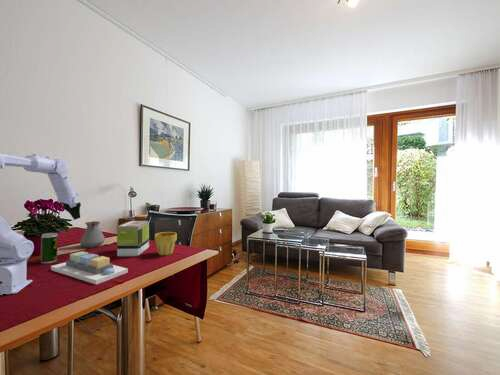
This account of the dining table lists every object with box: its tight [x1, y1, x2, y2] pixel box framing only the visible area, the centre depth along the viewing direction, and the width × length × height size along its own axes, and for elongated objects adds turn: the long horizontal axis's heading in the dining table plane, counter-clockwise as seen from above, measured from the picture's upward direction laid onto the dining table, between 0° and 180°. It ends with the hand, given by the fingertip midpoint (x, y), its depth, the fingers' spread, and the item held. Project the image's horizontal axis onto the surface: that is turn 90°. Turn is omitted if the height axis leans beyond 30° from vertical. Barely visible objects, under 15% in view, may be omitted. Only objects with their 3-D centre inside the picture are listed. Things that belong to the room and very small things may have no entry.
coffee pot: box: [79, 221, 106, 249], centre depth 118 cm, size 21×12×15 cm, turn 35°
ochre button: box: [90, 255, 111, 268], centre depth 85 cm, size 4×4×3 cm
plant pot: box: [154, 231, 178, 256], centre depth 112 cm, size 10×10×10 cm
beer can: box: [40, 232, 59, 265], centre depth 97 cm, size 5×5×12 cm
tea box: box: [116, 220, 150, 257], centre depth 114 cm, size 15×10×15 cm, turn 5°
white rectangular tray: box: [50, 259, 129, 285], centre depth 88 cm, size 28×12×4 cm, turn 66°
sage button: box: [69, 251, 90, 262], centre depth 90 cm, size 4×4×3 cm
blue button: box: [80, 253, 100, 265], centre depth 88 cm, size 4×4×3 cm
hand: (74, 215), depth 97 cm, fingers open, 7 cm apart
